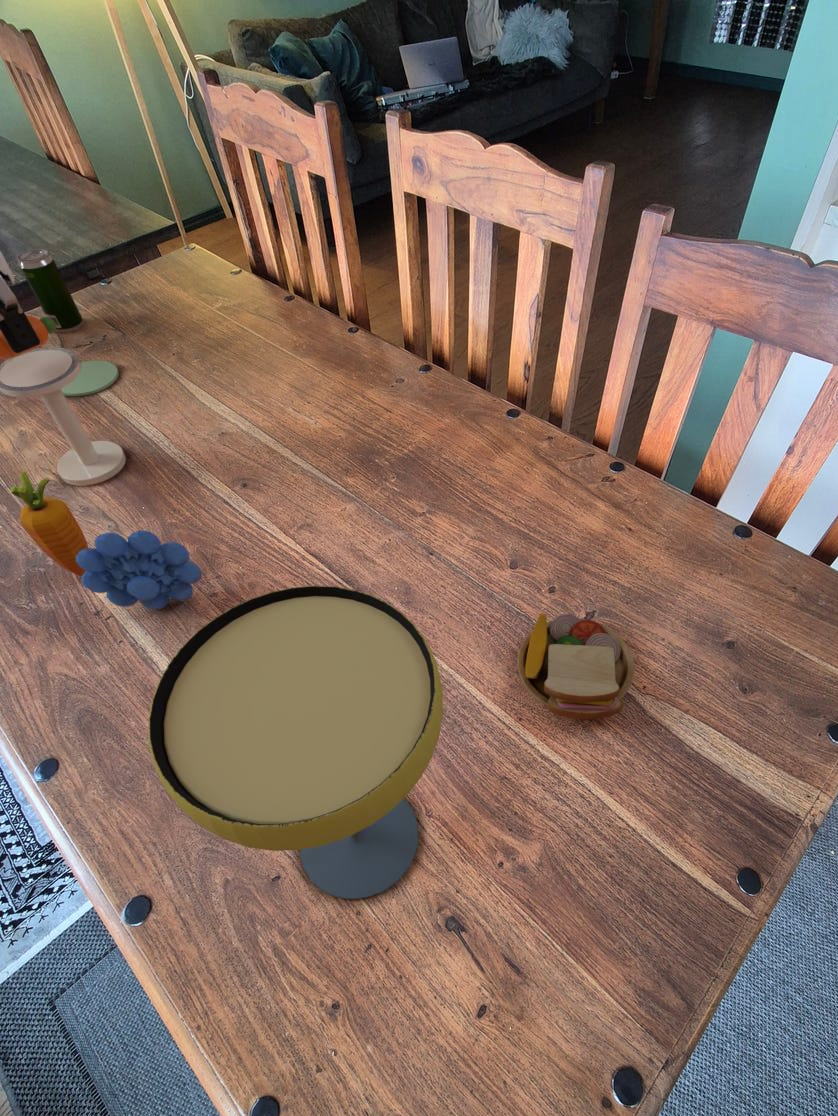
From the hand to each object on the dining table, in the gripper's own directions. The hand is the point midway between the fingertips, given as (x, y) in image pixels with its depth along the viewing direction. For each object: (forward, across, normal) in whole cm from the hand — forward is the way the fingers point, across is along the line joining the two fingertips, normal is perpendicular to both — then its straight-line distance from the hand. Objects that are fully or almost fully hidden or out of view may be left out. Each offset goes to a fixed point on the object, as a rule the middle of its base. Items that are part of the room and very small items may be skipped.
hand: (18, 340), depth 80 cm
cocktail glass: (+18, +71, -11) cm, 74 cm away
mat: (+19, -21, +11) cm, 30 cm away
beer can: (+19, -40, +18) cm, 48 cm away
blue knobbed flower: (+18, +33, -8) cm, 38 cm away
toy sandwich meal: (+18, +75, +17) cm, 78 cm away
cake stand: (+18, +1, 0) cm, 18 cm away
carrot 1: (+1, -1, 0) cm, 1 cm away
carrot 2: (+18, +21, -11) cm, 30 cm away
